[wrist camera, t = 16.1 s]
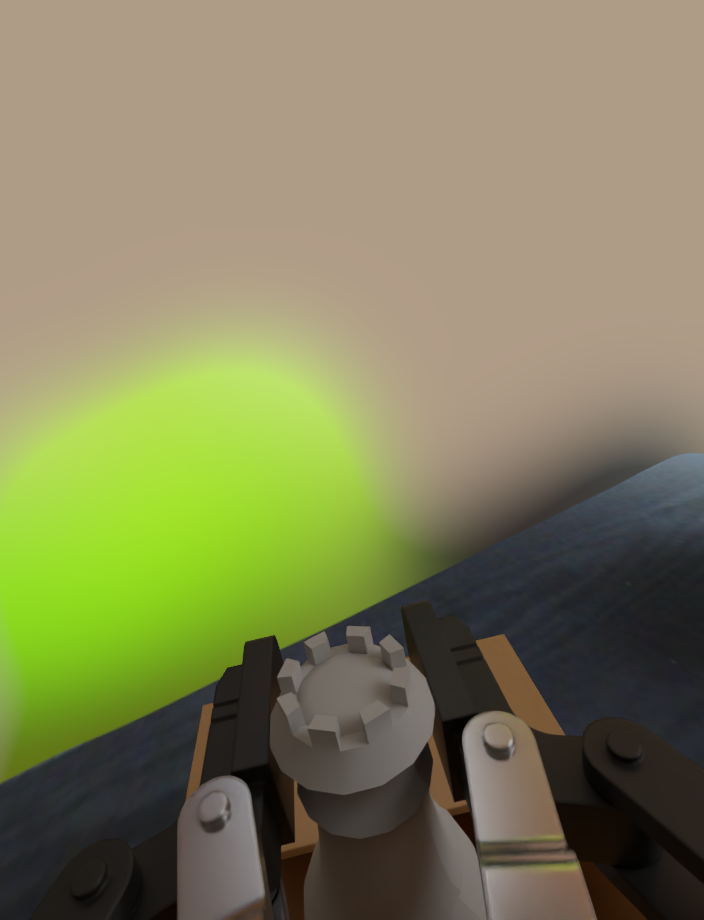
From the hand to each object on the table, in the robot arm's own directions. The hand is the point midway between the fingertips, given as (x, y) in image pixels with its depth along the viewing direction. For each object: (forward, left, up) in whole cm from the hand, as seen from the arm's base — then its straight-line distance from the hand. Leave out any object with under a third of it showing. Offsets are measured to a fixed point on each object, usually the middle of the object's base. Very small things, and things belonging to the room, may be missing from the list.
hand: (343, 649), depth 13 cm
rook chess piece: (0, -3, -6) cm, 7 cm away
